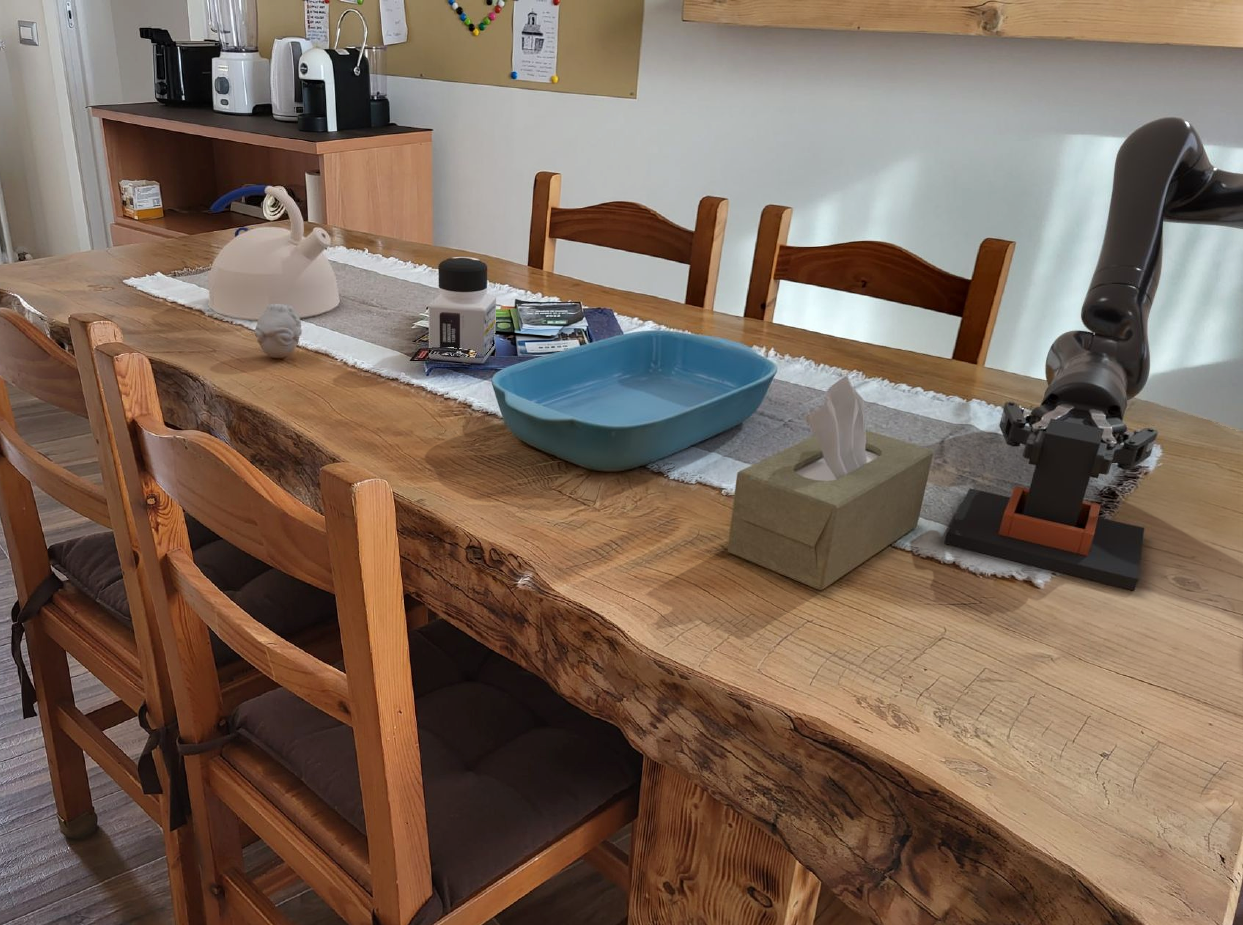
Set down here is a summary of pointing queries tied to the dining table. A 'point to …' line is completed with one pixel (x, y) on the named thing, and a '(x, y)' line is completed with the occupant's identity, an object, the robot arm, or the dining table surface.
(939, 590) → the dining table surface
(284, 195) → the kettle
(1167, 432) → the dining table surface
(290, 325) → the grey rounded lump
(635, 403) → the casserole dish
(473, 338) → the container
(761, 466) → the tissue box
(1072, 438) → the black rectangular block
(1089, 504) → the base mat
